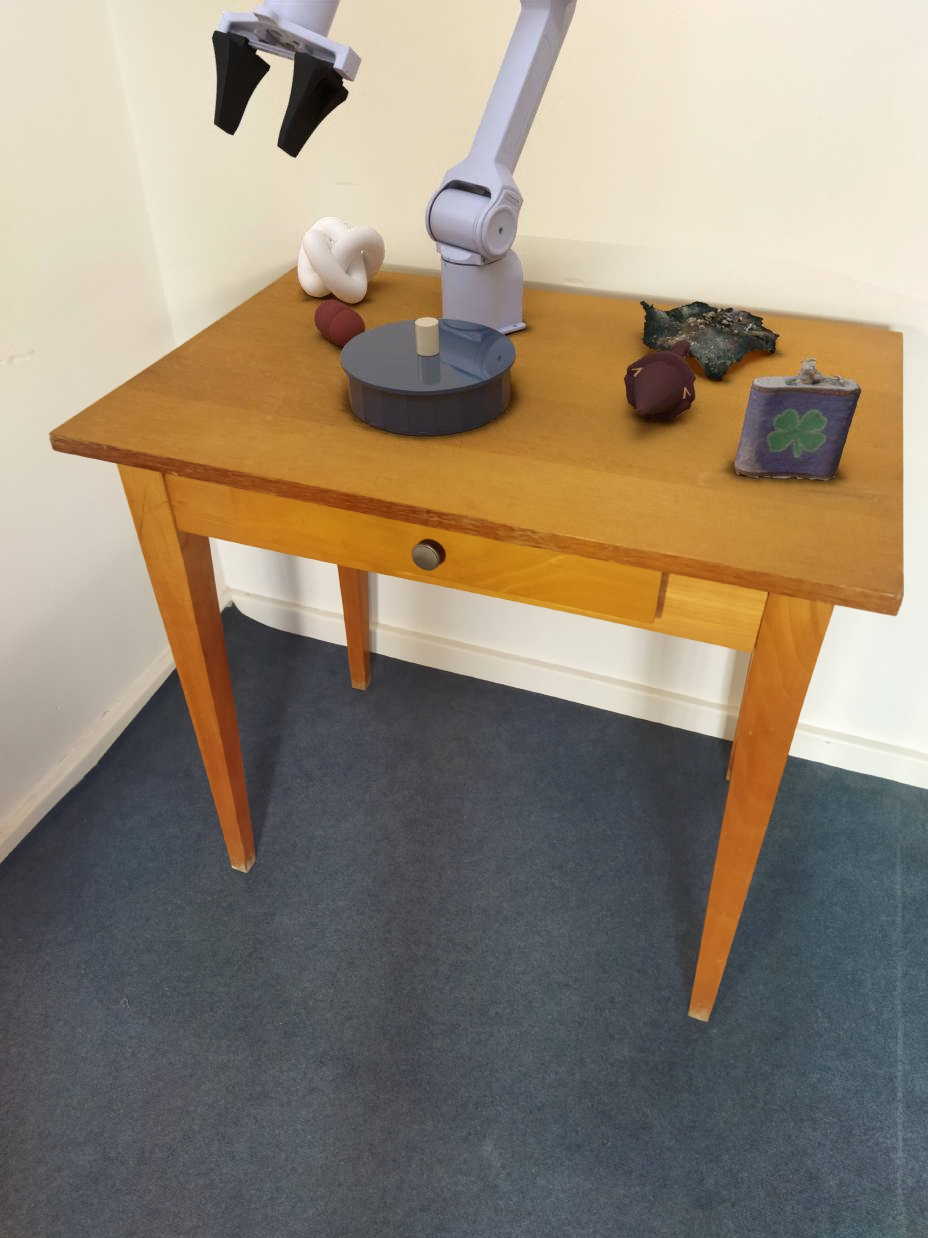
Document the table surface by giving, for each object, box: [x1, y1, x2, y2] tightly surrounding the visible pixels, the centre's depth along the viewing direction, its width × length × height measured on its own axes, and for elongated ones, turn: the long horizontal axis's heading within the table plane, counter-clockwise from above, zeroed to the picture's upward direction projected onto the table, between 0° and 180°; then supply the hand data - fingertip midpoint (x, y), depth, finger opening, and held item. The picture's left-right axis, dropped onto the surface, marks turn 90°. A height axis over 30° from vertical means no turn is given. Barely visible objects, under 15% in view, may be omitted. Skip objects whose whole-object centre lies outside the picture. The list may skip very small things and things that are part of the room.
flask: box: [733, 357, 862, 481], centre depth 78 cm, size 9×3×11 cm, turn 83°
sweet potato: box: [314, 299, 366, 349], centre depth 105 cm, size 4×8×4 cm, turn 33°
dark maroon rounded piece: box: [623, 340, 697, 422], centre depth 88 cm, size 7×7×15 cm
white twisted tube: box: [296, 216, 386, 304], centre depth 116 cm, size 11×12×9 cm
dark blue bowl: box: [345, 368, 512, 437], centre depth 93 cm, size 17×17×5 cm
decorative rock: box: [639, 300, 780, 382], centre depth 102 cm, size 19×6×15 cm
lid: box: [339, 316, 517, 395], centre depth 91 cm, size 18×18×4 cm
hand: (254, 140), depth 78 cm, fingers open, 7 cm apart
